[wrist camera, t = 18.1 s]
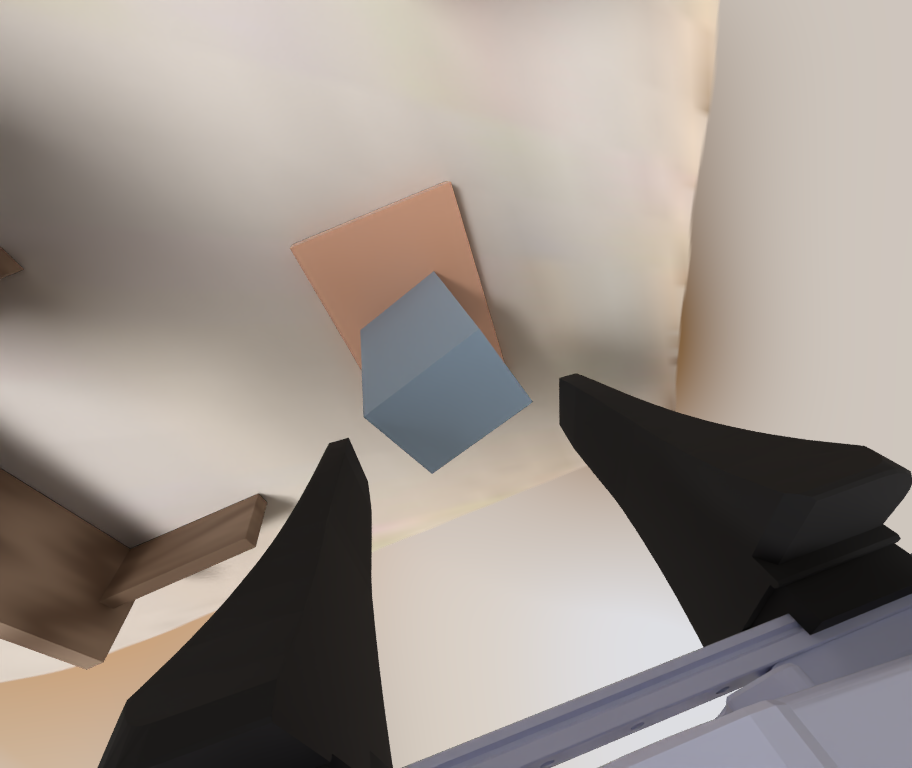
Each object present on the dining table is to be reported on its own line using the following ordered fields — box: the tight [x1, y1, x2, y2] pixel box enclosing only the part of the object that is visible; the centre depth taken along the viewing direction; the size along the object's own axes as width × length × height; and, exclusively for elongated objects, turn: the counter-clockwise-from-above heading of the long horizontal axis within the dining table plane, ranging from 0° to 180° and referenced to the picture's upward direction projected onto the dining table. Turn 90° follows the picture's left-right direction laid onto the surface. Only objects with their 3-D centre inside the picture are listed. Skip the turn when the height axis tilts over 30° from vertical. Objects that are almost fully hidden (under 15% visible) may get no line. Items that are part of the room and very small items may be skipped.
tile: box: [290, 181, 504, 370], centre depth 20 cm, size 12×8×1 cm, turn 19°
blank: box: [360, 271, 533, 473], centre depth 16 cm, size 4×5×8 cm
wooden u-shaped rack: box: [0, 247, 267, 670], centre depth 17 cm, size 20×10×6 cm, turn 19°
